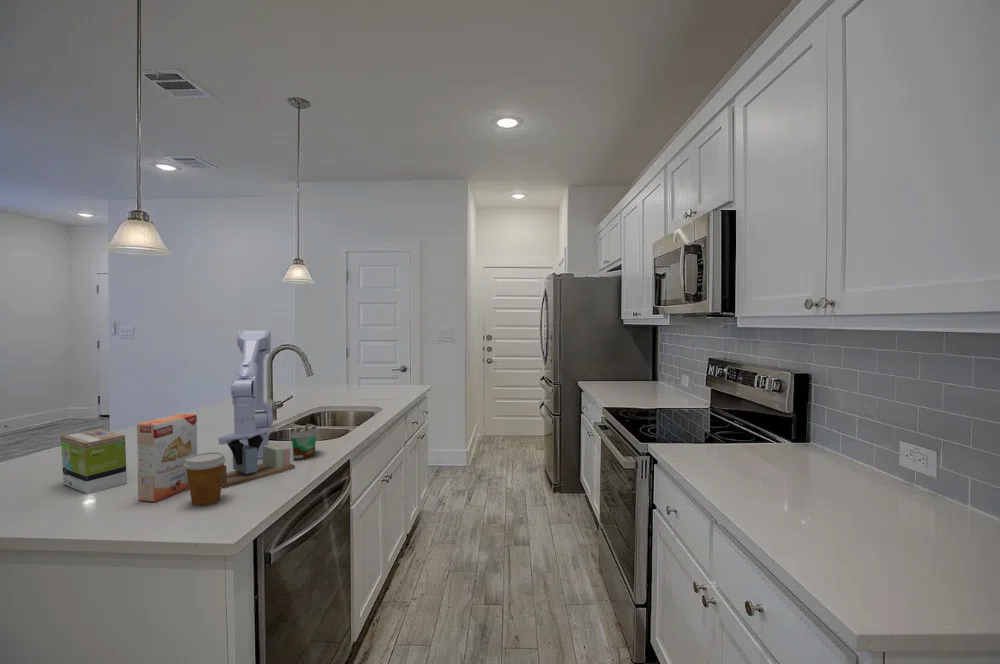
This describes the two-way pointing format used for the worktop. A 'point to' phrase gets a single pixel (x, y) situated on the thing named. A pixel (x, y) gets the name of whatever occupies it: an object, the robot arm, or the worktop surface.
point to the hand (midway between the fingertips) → (245, 462)
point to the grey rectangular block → (247, 460)
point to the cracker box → (164, 455)
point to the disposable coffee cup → (205, 477)
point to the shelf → (250, 474)
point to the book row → (276, 456)
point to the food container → (304, 442)
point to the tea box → (93, 460)
